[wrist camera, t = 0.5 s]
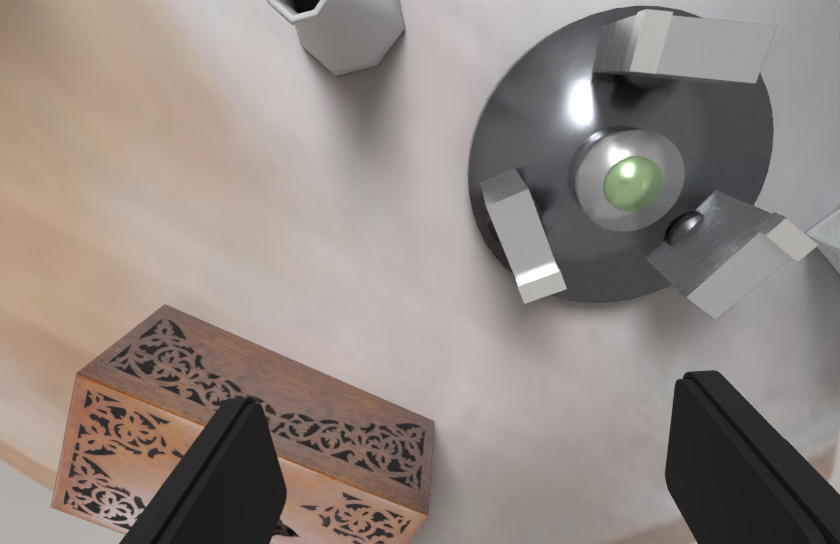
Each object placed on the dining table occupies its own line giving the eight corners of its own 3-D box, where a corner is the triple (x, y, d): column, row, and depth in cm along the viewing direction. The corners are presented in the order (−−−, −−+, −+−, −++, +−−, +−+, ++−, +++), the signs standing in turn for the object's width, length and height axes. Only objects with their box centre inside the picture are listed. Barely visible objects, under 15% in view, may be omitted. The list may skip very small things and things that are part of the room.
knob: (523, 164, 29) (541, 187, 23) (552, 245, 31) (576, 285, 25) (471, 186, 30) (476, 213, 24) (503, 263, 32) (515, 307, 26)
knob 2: (639, 253, 31) (683, 296, 25) (710, 183, 29) (778, 211, 23) (675, 282, 32) (728, 330, 25) (748, 215, 29) (825, 251, 23)
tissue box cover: (134, 417, 44) (50, 507, 35) (166, 302, 38) (76, 373, 29) (372, 512, 47) (352, 618, 38) (434, 419, 41) (428, 516, 32)
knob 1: (689, 93, 27) (758, 97, 21) (587, 82, 27) (626, 84, 21) (711, 25, 25) (791, 8, 19) (603, 14, 25) (649, -6, 19)
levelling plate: (724, -52, 26) (790, -84, 21) (773, 236, 32) (832, 265, 27) (424, 94, 30) (418, 98, 25) (520, 323, 36) (530, 362, 31)
